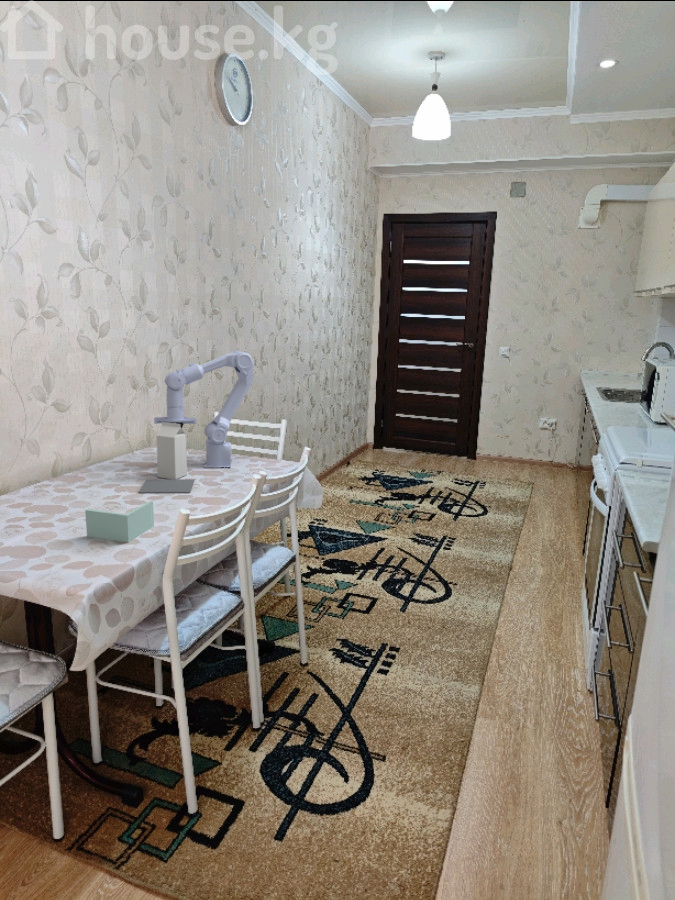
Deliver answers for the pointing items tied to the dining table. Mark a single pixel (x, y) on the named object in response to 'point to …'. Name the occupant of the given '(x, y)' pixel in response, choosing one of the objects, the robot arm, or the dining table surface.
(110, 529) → the l-shaped corner panel
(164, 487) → the mat
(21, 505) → the dining table surface
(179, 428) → the milk carton
